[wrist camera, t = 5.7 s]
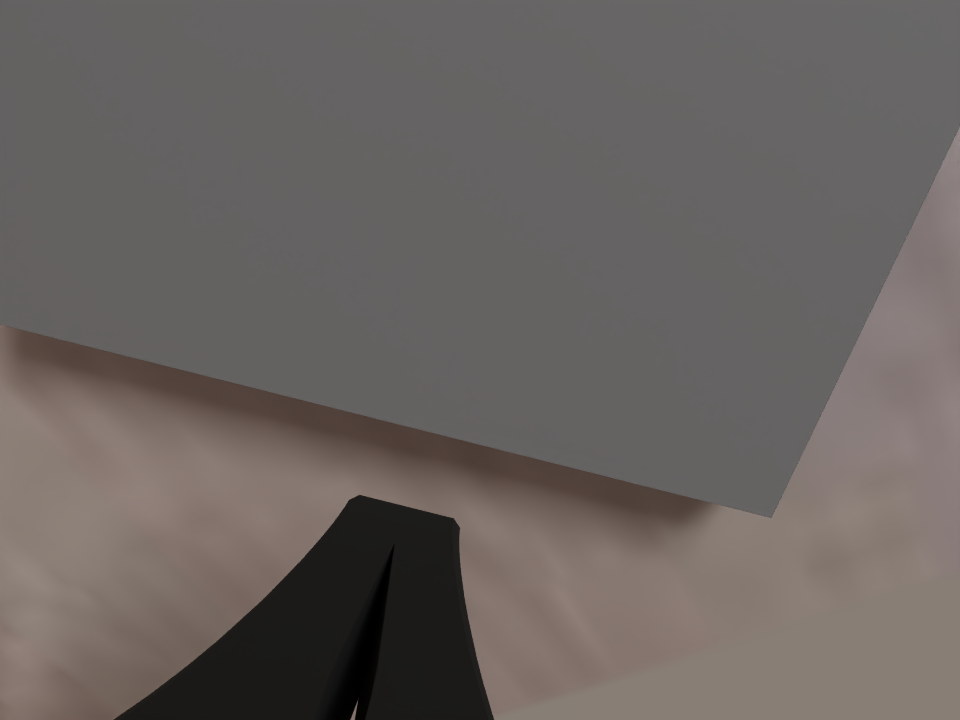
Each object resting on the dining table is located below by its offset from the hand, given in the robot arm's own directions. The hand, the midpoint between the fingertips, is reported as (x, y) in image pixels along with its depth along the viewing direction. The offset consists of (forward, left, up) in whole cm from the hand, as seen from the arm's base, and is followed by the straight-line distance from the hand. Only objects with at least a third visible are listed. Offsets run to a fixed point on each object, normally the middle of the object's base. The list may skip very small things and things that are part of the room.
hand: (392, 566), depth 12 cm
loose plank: (+1, -4, -8) cm, 9 cm away
